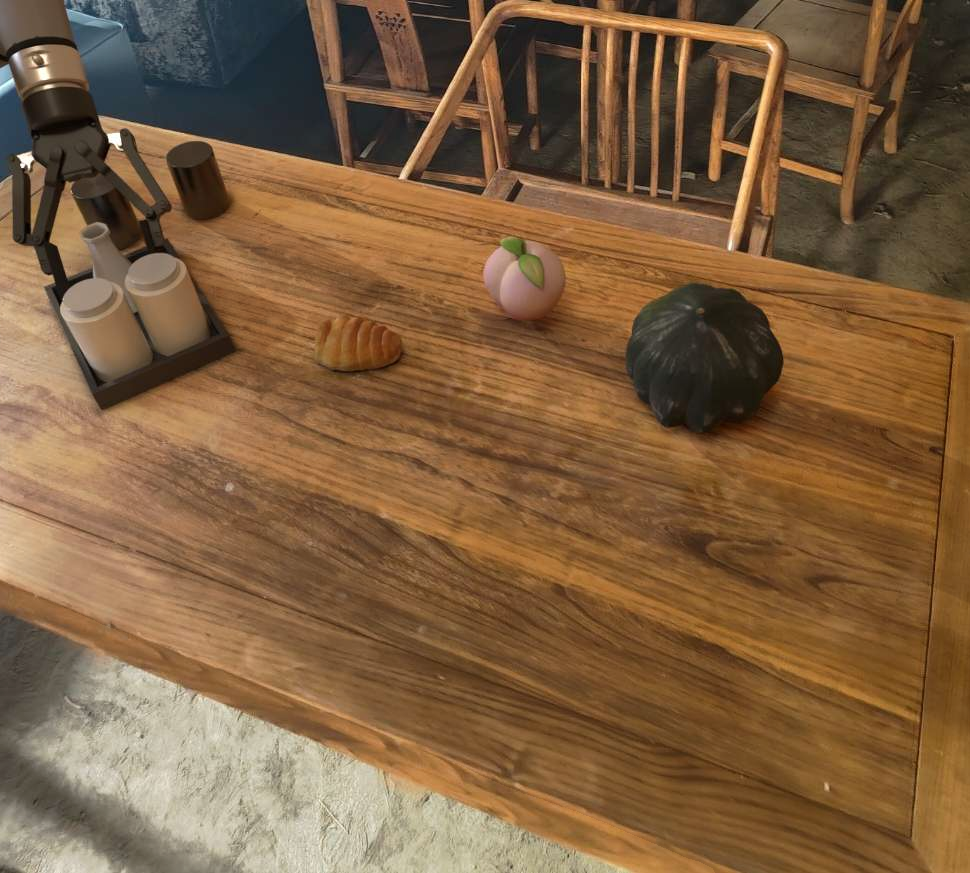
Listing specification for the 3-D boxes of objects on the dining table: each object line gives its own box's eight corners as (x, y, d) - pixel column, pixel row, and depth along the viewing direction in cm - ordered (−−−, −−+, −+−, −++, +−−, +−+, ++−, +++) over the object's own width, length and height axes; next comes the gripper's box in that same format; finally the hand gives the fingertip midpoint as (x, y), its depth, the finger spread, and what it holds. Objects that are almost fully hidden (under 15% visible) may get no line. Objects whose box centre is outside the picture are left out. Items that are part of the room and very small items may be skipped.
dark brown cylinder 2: (179, 204, 125) (159, 151, 118) (221, 188, 126) (203, 135, 120) (194, 225, 121) (174, 173, 115) (237, 209, 123) (219, 156, 117)
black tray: (52, 303, 113) (43, 286, 111) (174, 254, 117) (167, 237, 115) (101, 410, 100) (92, 394, 98) (235, 351, 105) (229, 334, 103)
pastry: (408, 334, 104) (403, 309, 101) (396, 378, 100) (390, 353, 97) (328, 330, 106) (321, 305, 103) (312, 373, 101) (304, 348, 99)
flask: (118, 327, 108) (83, 259, 100) (84, 303, 111) (48, 235, 104) (168, 294, 111) (139, 226, 104) (134, 271, 115) (103, 203, 107)
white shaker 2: (146, 332, 107) (113, 264, 100) (200, 309, 109) (171, 241, 101) (164, 365, 103) (131, 297, 96) (219, 341, 105) (191, 272, 98)
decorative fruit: (582, 319, 104) (583, 247, 96) (523, 352, 101) (519, 280, 94) (532, 277, 109) (529, 206, 102) (475, 307, 106) (467, 236, 99)
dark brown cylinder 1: (90, 233, 122) (64, 181, 116) (134, 216, 123) (111, 164, 117) (103, 257, 118) (77, 204, 112) (148, 239, 120) (125, 186, 114)
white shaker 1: (87, 357, 105) (49, 289, 98) (142, 333, 107) (109, 265, 99) (103, 392, 101) (64, 324, 94) (160, 367, 103) (127, 298, 96)
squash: (741, 283, 97) (671, 228, 86) (834, 375, 89) (769, 328, 78) (648, 379, 102) (570, 339, 91) (727, 476, 94) (651, 444, 83)
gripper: (-62, 108, 99) (2, 311, 101) (149, 62, 102) (207, 260, 104) (-34, 128, 107) (25, 316, 108) (162, 85, 110) (216, 269, 112)
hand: (114, 289), depth 106 cm, fingers open, 10 cm apart
